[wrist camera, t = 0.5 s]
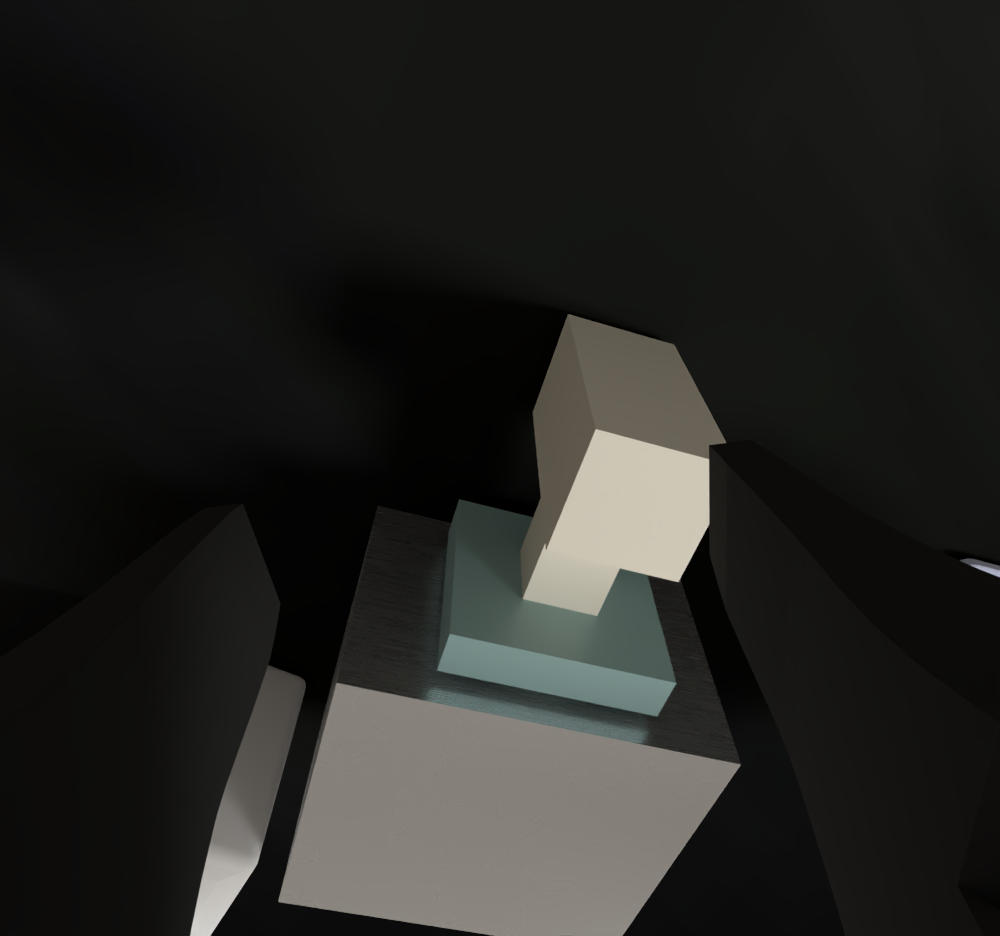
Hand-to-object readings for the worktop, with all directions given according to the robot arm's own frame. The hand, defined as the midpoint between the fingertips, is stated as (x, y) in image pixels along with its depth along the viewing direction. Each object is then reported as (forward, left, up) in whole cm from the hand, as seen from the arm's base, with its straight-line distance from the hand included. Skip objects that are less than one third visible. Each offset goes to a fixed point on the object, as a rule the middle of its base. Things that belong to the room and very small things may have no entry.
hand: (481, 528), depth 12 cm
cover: (-3, +7, -10) cm, 12 cm away
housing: (-3, +11, -10) cm, 15 cm away
